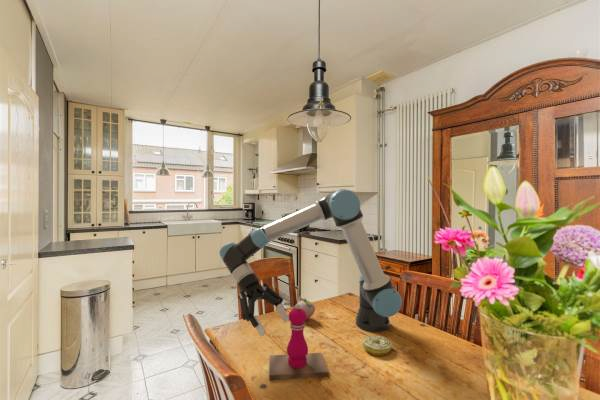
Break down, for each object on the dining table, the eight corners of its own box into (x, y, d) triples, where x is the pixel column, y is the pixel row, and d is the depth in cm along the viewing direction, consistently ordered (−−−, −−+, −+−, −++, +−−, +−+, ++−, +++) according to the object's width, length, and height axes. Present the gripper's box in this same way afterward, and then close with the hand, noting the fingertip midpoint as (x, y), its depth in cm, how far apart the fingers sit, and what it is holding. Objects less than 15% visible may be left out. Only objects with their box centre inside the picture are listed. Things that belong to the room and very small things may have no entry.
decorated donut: (396, 349, 112) (396, 340, 112) (383, 361, 104) (383, 350, 104) (372, 340, 119) (372, 331, 119) (358, 350, 111) (358, 340, 111)
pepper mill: (305, 370, 95) (306, 308, 95) (284, 367, 97) (284, 307, 97) (309, 358, 102) (309, 301, 102) (289, 356, 104) (289, 299, 104)
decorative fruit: (292, 318, 141) (292, 297, 141) (305, 314, 146) (305, 294, 146) (304, 324, 134) (304, 303, 134) (317, 320, 139) (318, 299, 139)
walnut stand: (321, 356, 106) (321, 352, 106) (328, 376, 94) (328, 371, 94) (269, 359, 104) (269, 355, 104) (269, 380, 92) (269, 375, 92)
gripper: (262, 277, 125) (290, 320, 116) (215, 292, 104) (245, 346, 95) (271, 266, 122) (301, 310, 113) (225, 279, 101) (258, 334, 93)
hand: (276, 327), depth 104 cm, fingers open, 13 cm apart
